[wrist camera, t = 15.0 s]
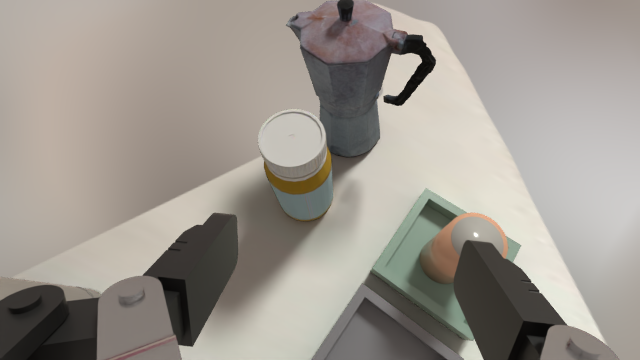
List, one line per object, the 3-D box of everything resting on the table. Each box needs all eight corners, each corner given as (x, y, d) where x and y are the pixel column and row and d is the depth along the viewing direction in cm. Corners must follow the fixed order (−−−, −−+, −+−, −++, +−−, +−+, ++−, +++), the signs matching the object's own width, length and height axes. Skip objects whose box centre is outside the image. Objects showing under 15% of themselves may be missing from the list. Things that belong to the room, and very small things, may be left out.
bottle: (340, 212, 40) (341, 157, 27) (288, 229, 40) (263, 182, 26) (323, 167, 43) (316, 96, 30) (274, 182, 43) (245, 117, 29)
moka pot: (311, 94, 49) (296, -41, 30) (411, 117, 46) (459, -17, 28) (291, 145, 45) (259, 26, 27) (397, 173, 42) (442, 61, 24)
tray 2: (463, 339, 34) (473, 340, 32) (370, 271, 37) (372, 268, 35) (510, 249, 37) (521, 245, 35) (420, 195, 41) (425, 187, 39)
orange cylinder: (451, 293, 35) (492, 283, 26) (411, 265, 37) (436, 246, 27) (472, 256, 37) (518, 234, 28) (433, 230, 38) (463, 201, 29)
